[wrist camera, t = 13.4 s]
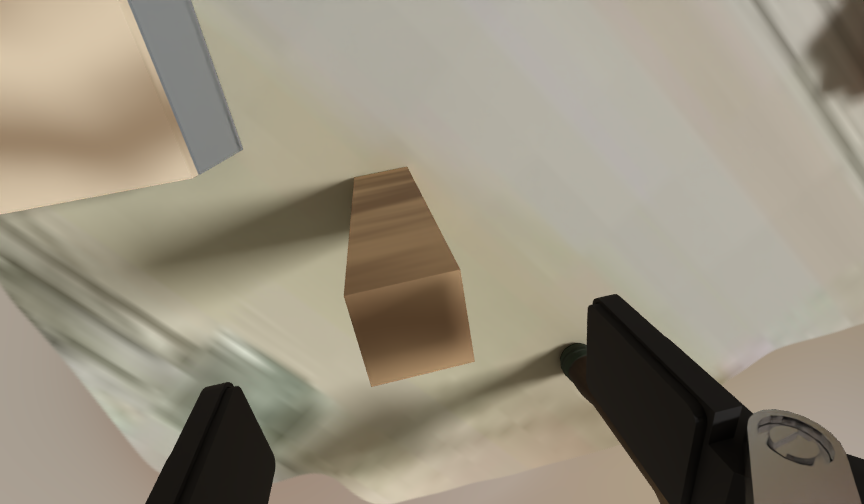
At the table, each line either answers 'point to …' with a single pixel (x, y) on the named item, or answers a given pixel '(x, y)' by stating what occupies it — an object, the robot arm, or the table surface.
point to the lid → (81, 105)
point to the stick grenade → (576, 372)
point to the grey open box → (188, 79)
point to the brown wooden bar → (402, 282)
